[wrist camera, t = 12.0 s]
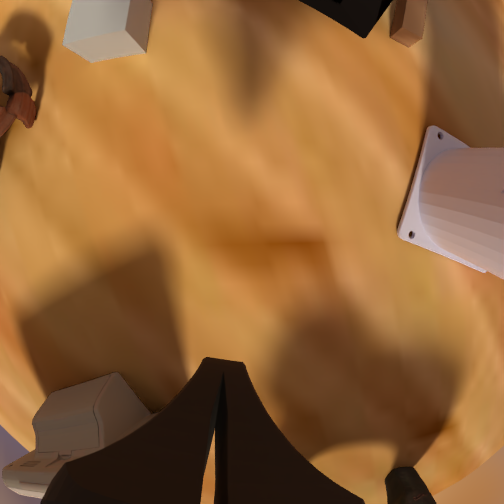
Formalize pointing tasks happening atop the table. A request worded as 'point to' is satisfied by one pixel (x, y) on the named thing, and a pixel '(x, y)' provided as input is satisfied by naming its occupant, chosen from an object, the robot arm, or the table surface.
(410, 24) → the bay
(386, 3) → the black boxy piece
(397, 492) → the power drill
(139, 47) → the light gray block
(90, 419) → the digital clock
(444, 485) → the table surface
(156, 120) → the table surface
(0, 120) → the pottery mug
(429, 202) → the robot arm
